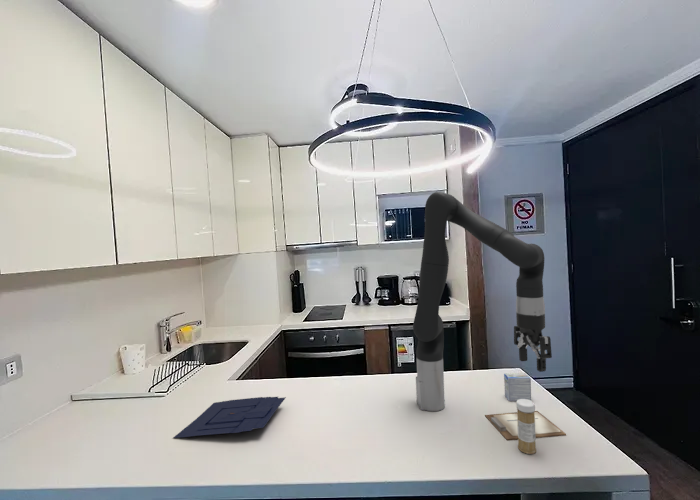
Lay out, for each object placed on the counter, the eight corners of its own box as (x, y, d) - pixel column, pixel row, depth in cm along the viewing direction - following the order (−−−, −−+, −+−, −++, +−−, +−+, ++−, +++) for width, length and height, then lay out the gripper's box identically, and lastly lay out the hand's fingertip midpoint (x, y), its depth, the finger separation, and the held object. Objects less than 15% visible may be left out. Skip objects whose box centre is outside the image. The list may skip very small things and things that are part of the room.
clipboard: (507, 440, 100) (506, 434, 100) (485, 416, 114) (484, 411, 114) (566, 435, 102) (566, 429, 101) (537, 411, 115) (537, 407, 115)
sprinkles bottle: (523, 443, 99) (522, 396, 98) (539, 450, 95) (538, 402, 94) (514, 448, 96) (512, 401, 96) (530, 457, 92) (528, 407, 92)
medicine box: (526, 396, 127) (525, 372, 127) (531, 401, 123) (531, 377, 123) (504, 396, 128) (503, 372, 128) (508, 401, 124) (507, 377, 123)
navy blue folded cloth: (262, 439, 104) (260, 428, 104) (173, 446, 109) (171, 435, 109) (289, 402, 128) (287, 392, 128) (215, 409, 133) (214, 399, 133)
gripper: (505, 307, 109) (506, 358, 109) (533, 317, 94) (535, 376, 95) (527, 306, 109) (529, 356, 110) (559, 315, 95) (560, 373, 96)
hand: (532, 365), depth 102 cm, fingers open, 8 cm apart
